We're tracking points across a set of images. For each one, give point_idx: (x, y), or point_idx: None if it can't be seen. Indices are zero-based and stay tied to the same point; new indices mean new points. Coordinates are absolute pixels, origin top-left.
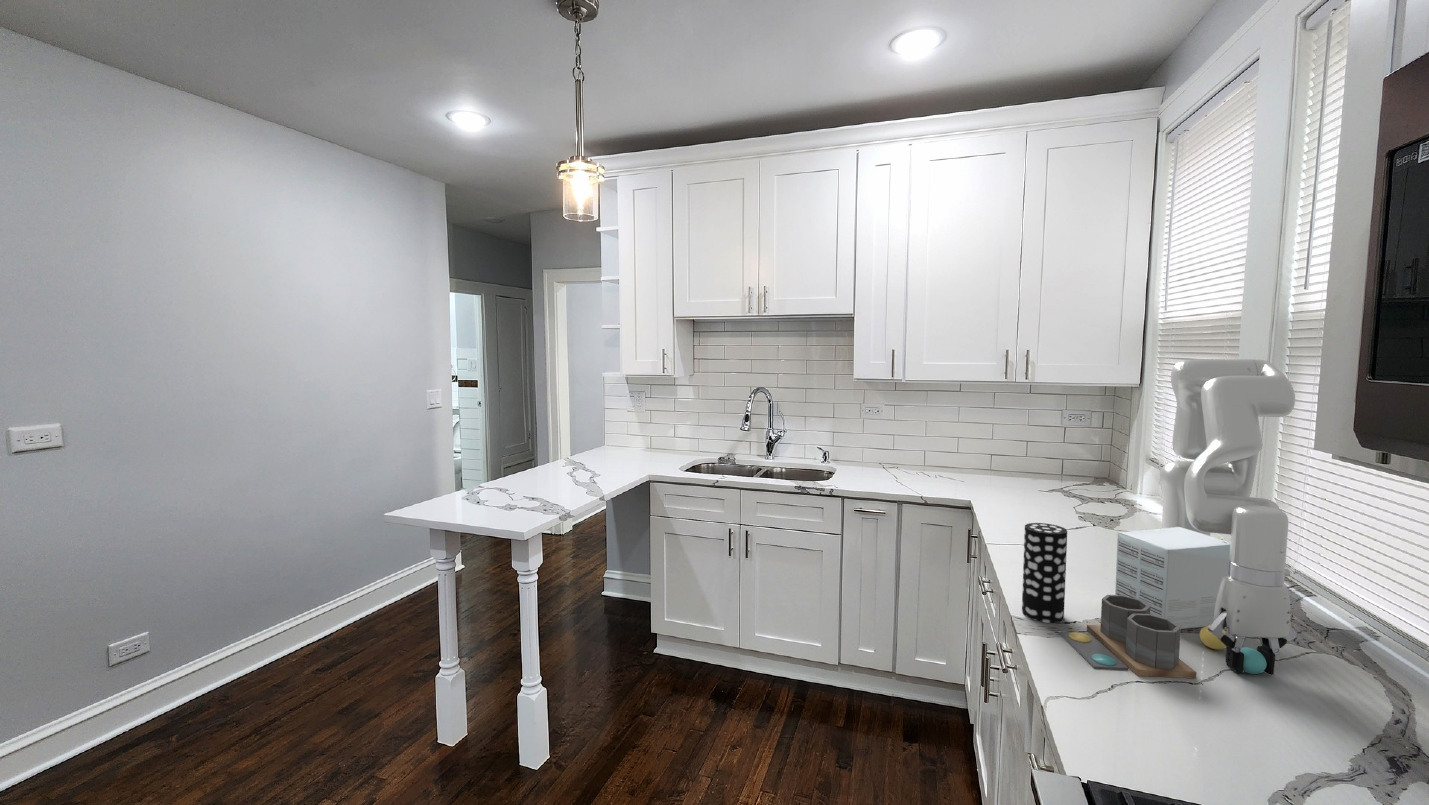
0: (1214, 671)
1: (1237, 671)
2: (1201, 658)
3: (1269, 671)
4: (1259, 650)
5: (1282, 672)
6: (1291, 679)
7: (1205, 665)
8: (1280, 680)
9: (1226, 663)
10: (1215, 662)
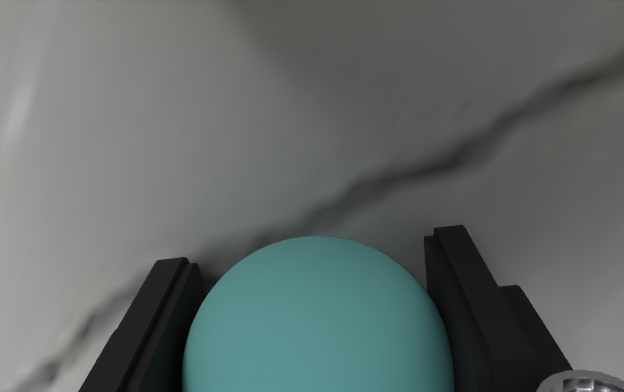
0: (44, 331)
1: None
2: (8, 110)
3: None
4: (469, 378)
5: (618, 239)
6: (593, 340)
7: (4, 245)
8: None
9: (157, 266)
10: (112, 169)
